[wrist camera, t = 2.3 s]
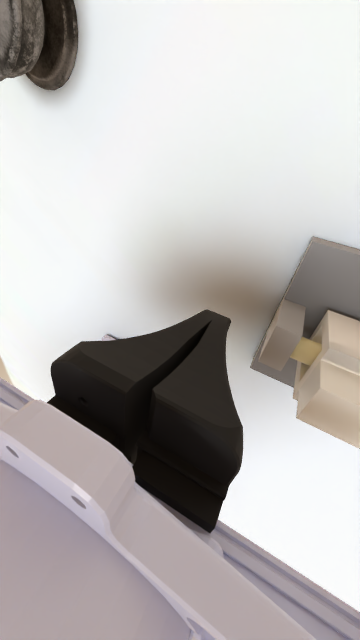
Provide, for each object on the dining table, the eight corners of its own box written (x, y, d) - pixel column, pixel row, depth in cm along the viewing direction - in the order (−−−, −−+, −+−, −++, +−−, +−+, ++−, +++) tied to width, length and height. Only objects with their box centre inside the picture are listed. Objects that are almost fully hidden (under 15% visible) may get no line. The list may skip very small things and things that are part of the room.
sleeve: (372, 387, 13) (392, 478, 10) (297, 356, 14) (289, 426, 11) (418, 342, 11) (467, 433, 7) (327, 309, 12) (330, 375, 9)
